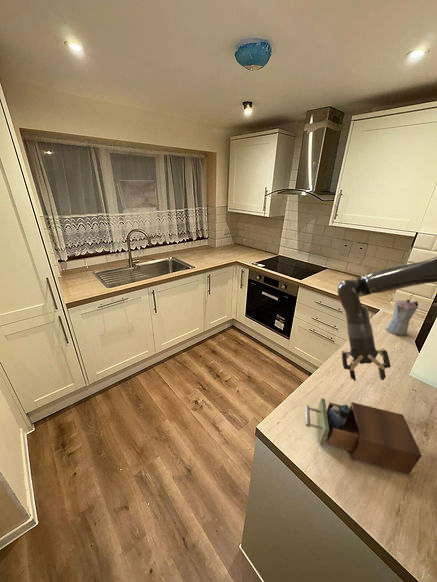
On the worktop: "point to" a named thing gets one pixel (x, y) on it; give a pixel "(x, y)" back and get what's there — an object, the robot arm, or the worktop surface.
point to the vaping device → (337, 417)
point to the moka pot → (402, 317)
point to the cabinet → (384, 439)
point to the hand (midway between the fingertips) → (368, 379)
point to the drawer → (336, 437)
